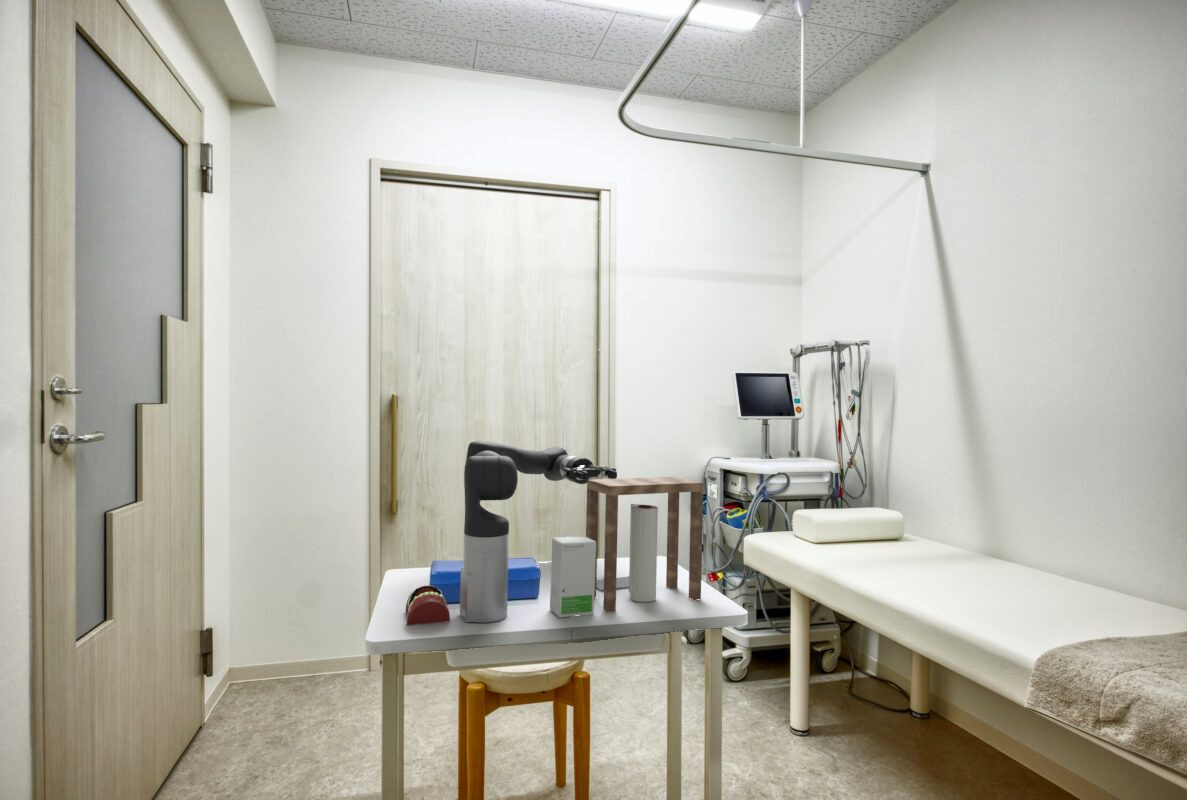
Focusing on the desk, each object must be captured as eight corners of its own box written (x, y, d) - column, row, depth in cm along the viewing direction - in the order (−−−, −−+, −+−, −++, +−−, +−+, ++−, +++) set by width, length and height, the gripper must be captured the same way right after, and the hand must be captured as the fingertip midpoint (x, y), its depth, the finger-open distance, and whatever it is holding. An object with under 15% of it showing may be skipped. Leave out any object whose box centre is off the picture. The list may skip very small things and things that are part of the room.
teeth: (444, 577, 138) (450, 594, 126) (444, 606, 138) (450, 625, 126) (404, 581, 135) (406, 599, 124) (404, 611, 135) (407, 631, 124)
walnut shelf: (607, 612, 136) (610, 486, 136) (584, 596, 147) (587, 479, 147) (700, 599, 146) (703, 482, 146) (673, 585, 157) (675, 476, 157)
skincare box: (558, 618, 131) (559, 543, 131) (548, 609, 137) (550, 537, 137) (595, 614, 134) (597, 541, 134) (584, 605, 140) (586, 534, 140)
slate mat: (600, 591, 151) (600, 589, 151) (586, 582, 158) (586, 581, 158) (651, 585, 157) (651, 584, 157) (635, 577, 164) (635, 575, 164)
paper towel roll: (656, 603, 143) (658, 508, 143) (630, 602, 143) (632, 507, 143) (654, 593, 150) (656, 503, 150) (628, 593, 150) (630, 502, 150)
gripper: (598, 481, 187) (624, 488, 172) (553, 483, 181) (576, 490, 166) (599, 456, 187) (624, 461, 172) (554, 456, 181) (576, 462, 166)
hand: (601, 475), depth 169 cm, fingers open, 8 cm apart
